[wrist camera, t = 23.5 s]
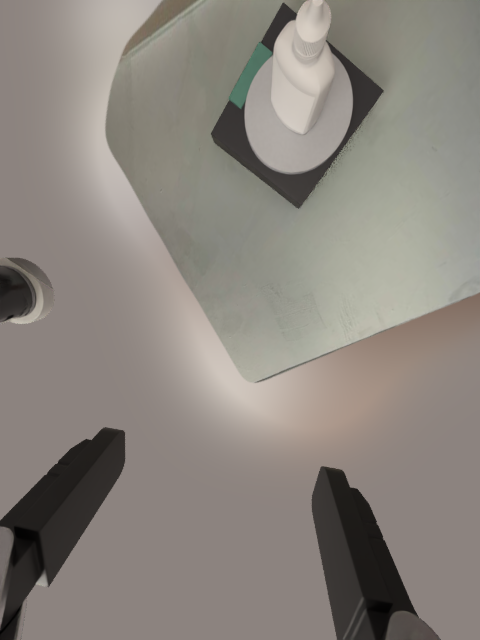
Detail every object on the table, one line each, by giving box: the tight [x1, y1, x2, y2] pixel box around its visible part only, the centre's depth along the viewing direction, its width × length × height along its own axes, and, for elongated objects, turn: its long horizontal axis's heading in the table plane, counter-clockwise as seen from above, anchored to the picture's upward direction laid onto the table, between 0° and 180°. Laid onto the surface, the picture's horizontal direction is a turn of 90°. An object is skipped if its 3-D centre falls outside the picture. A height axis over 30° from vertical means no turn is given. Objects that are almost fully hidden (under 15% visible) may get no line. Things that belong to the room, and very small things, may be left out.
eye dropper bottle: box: [271, 0, 335, 135], centre depth 20 cm, size 4×6×12 cm
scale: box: [211, 3, 383, 209], centre depth 28 cm, size 14×14×3 cm
